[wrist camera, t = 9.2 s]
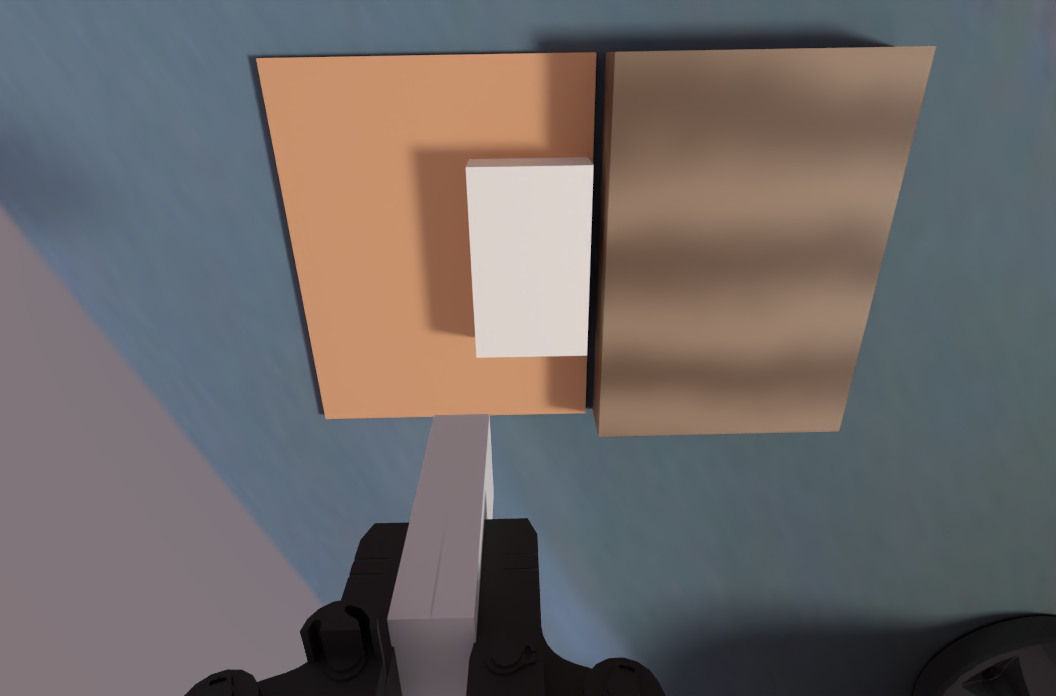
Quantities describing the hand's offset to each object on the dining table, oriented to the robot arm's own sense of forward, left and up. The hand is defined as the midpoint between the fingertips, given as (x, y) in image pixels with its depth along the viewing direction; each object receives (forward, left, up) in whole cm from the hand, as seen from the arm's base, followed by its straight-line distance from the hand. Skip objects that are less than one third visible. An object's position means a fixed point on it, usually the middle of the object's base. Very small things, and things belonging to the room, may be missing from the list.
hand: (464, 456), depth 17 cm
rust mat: (0, +3, -18) cm, 18 cm away
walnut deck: (0, -13, -18) cm, 22 cm away
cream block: (0, -2, -18) cm, 18 cm away
